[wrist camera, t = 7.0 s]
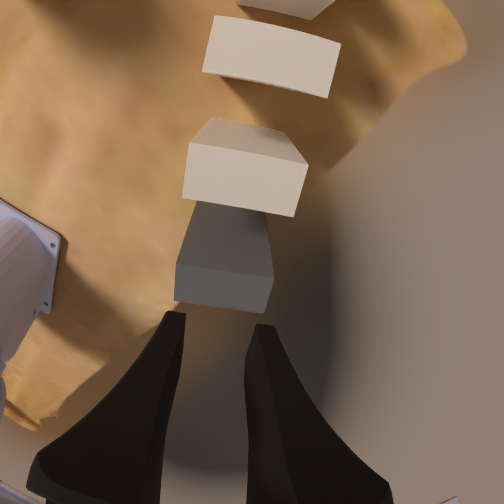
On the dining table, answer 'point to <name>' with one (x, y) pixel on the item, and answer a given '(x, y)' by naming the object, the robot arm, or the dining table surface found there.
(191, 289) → the domino
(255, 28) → the domino
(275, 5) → the domino
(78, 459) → the robot arm
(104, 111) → the dining table surface
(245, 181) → the domino
